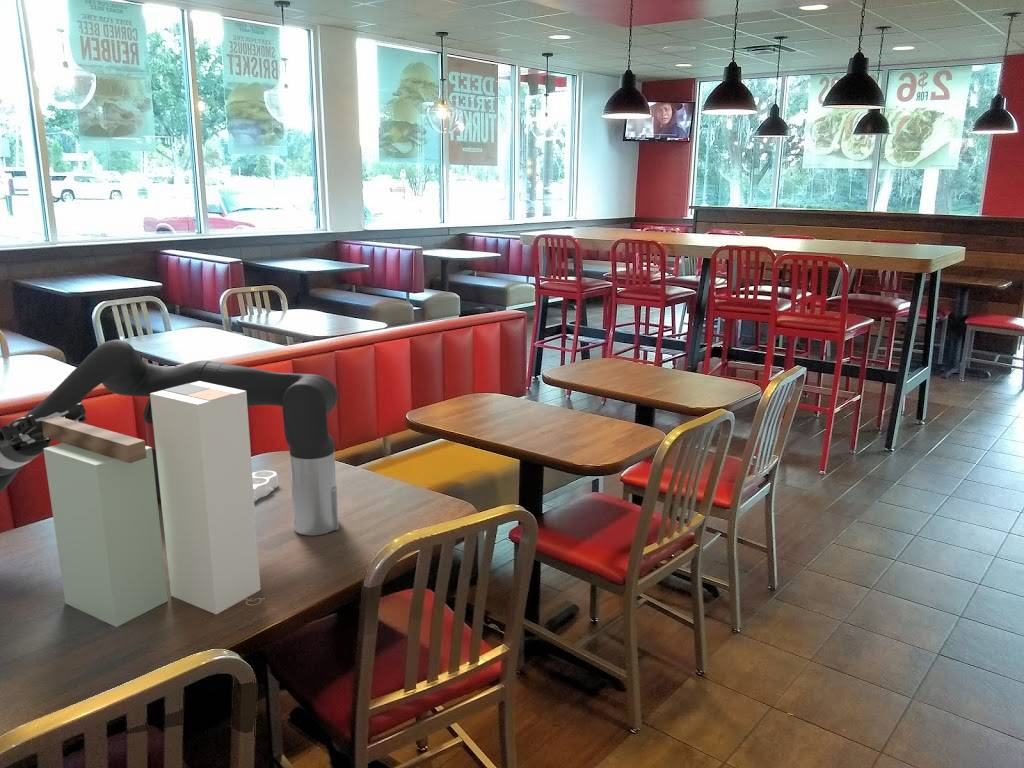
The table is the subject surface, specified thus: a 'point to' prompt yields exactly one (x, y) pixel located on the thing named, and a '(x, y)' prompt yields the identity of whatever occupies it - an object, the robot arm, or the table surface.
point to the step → (106, 532)
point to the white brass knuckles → (264, 483)
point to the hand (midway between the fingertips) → (58, 414)
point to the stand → (206, 493)
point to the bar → (94, 439)
